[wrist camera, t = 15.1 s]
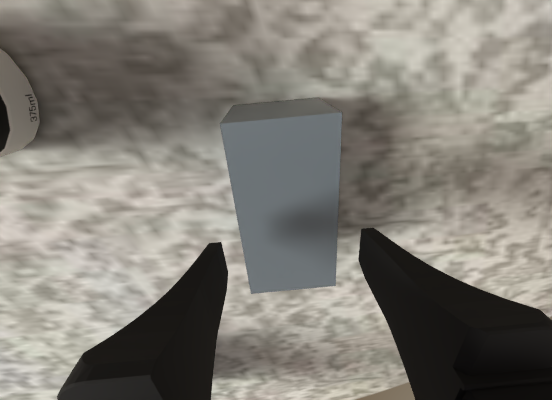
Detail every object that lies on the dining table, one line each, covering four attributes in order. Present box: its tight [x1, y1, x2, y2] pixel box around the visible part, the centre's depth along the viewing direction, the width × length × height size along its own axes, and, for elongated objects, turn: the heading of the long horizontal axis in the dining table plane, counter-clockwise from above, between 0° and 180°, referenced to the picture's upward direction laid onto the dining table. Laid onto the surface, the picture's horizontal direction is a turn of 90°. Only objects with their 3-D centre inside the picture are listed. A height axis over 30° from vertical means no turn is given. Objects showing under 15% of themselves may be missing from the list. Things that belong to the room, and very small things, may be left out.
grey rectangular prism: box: [220, 98, 342, 294], centre depth 19 cm, size 12×6×6 cm, turn 5°
